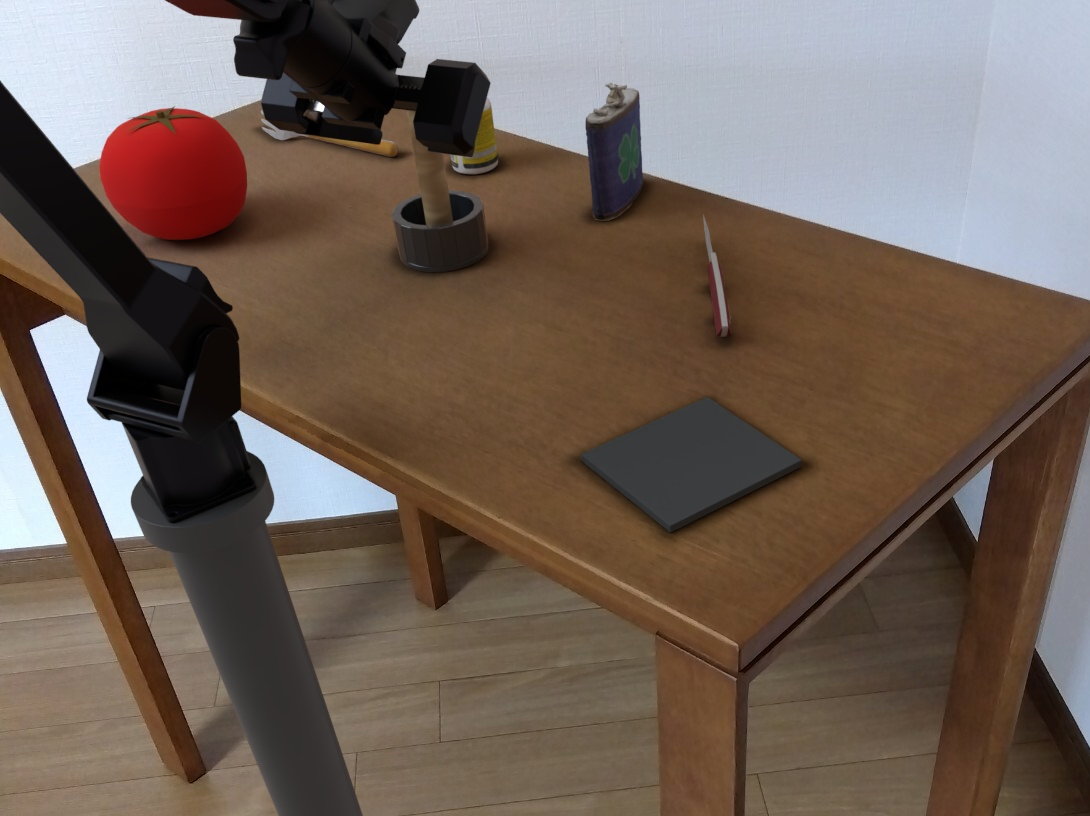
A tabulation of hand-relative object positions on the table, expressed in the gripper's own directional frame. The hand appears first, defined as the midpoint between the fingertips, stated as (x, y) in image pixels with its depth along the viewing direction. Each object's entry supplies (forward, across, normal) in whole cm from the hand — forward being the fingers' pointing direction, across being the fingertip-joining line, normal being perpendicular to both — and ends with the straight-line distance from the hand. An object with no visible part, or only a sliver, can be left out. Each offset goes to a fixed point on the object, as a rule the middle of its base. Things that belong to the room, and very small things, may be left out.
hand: (425, 144), depth 96 cm
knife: (+8, -25, +6) cm, 27 cm away
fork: (+20, +26, -6) cm, 34 cm away
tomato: (+5, +26, +9) cm, 28 cm away
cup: (+7, 0, +7) cm, 10 cm away
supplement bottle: (+20, +7, -6) cm, 22 cm away
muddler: (+7, 0, +6) cm, 9 cm away
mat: (-9, -33, +22) cm, 41 cm away
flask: (+18, -11, -4) cm, 21 cm away
